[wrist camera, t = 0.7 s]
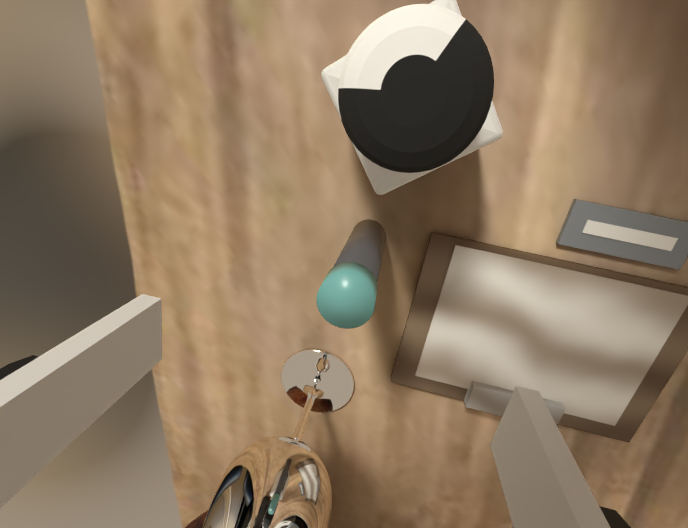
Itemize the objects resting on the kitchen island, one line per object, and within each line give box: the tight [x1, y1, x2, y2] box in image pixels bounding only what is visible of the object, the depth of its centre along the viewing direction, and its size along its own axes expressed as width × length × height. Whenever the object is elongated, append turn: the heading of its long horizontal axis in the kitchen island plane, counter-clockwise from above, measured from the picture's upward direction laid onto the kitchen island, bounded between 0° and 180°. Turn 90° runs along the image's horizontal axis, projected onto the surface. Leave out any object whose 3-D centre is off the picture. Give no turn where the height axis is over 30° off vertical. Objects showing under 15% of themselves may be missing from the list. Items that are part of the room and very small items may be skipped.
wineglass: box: [202, 349, 354, 528], centre depth 27 cm, size 8×8×20 cm
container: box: [321, 0, 503, 195], centre depth 21 cm, size 8×8×13 cm
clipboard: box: [391, 232, 688, 442], centre depth 30 cm, size 15×22×2 cm
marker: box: [317, 220, 385, 329], centre depth 24 cm, size 3×3×13 cm
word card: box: [556, 199, 688, 270], centre depth 27 cm, size 4×9×1 cm, turn 79°
